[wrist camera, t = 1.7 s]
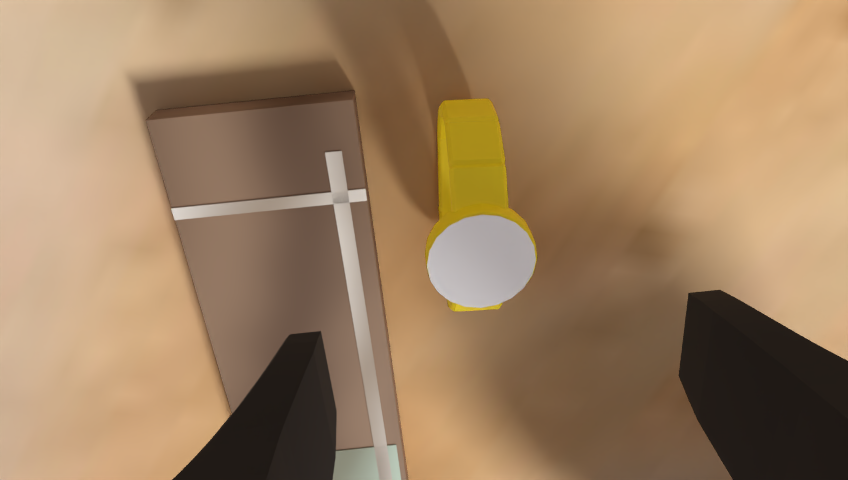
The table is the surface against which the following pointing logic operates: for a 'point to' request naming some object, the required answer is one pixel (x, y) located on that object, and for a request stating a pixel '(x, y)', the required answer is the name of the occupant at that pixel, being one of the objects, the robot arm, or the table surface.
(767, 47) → the table surface
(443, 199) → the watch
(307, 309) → the board
